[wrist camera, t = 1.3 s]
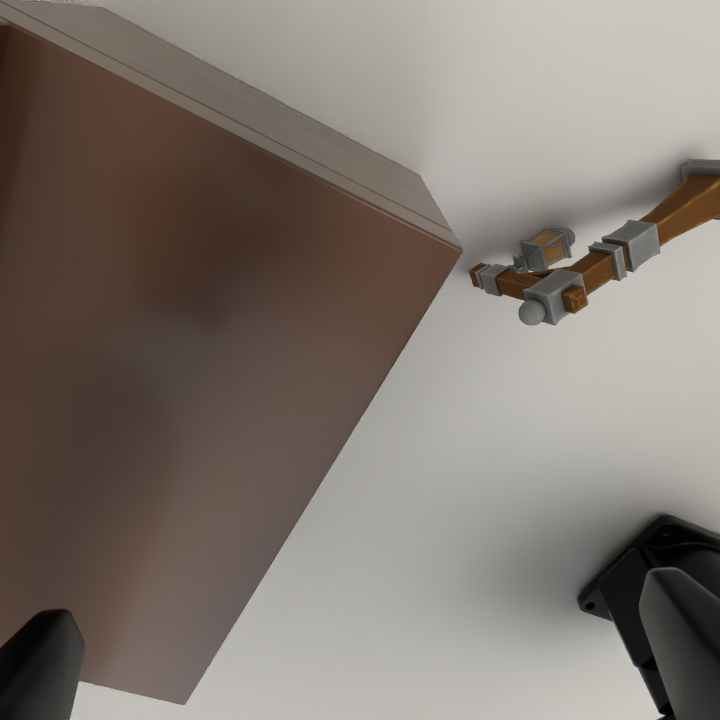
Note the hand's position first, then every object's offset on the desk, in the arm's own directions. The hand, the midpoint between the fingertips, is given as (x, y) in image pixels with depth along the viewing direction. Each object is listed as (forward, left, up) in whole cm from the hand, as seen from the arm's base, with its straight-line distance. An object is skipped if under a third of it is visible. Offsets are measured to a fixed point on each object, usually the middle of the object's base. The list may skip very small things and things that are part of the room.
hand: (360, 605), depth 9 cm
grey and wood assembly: (-6, -6, -13) cm, 15 cm away
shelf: (+5, +4, -13) cm, 14 cm away
